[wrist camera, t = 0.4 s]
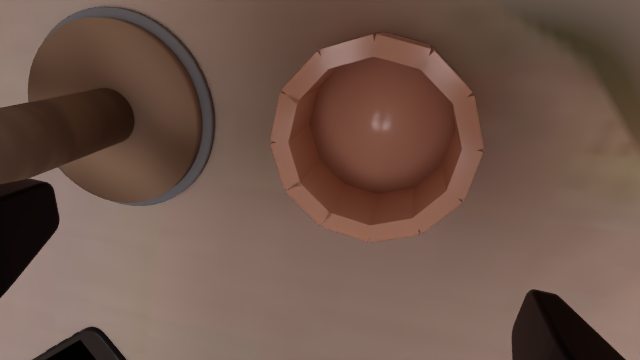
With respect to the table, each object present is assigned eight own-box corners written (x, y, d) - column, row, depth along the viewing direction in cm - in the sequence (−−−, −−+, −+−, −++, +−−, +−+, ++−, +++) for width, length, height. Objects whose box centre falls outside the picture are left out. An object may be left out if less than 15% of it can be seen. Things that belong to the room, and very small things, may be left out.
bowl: (435, 222, 23) (438, 265, 19) (284, 175, 24) (255, 205, 20) (497, 62, 20) (515, 72, 16) (321, 15, 21) (297, 12, 17)
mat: (199, 226, 27) (195, 229, 26) (36, 171, 28) (31, 174, 28) (229, 38, 23) (226, 38, 22) (38, -16, 24) (32, -17, 23)
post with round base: (189, 219, 26) (71, 318, 17) (38, 168, 27) (-144, 237, 18) (215, 46, 22) (83, 59, 14) (40, -5, 24) (-186, -22, 15)
